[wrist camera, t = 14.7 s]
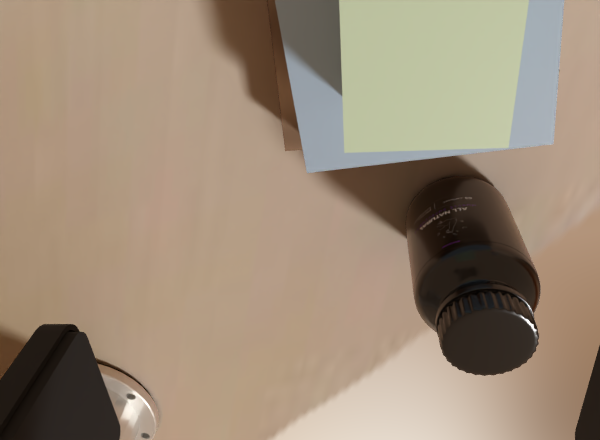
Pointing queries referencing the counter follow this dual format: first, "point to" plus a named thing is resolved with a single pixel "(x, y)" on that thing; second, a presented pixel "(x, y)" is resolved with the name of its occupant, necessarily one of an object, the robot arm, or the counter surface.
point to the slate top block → (328, 84)
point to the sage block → (429, 73)
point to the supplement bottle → (473, 275)
